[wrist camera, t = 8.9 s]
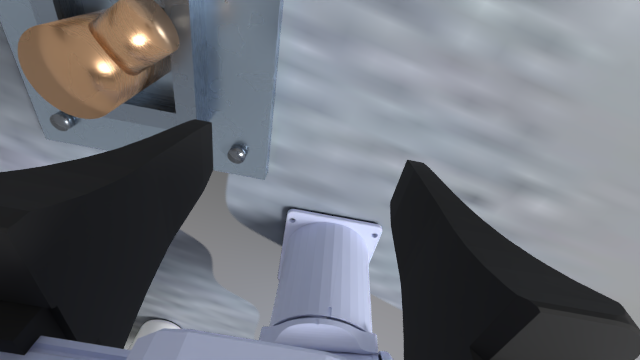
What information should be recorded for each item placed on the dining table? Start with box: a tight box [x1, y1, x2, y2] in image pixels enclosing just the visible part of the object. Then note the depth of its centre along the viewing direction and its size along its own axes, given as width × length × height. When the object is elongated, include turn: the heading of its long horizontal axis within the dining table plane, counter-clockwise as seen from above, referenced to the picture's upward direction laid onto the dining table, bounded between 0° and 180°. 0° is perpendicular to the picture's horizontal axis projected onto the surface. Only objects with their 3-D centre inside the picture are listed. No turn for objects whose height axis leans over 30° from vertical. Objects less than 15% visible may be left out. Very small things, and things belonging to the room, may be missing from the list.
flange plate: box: [0, 0, 283, 180], centre depth 18 cm, size 16×16×3 cm
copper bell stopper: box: [18, 0, 179, 119], centre depth 16 cm, size 6×4×6 cm, turn 117°
